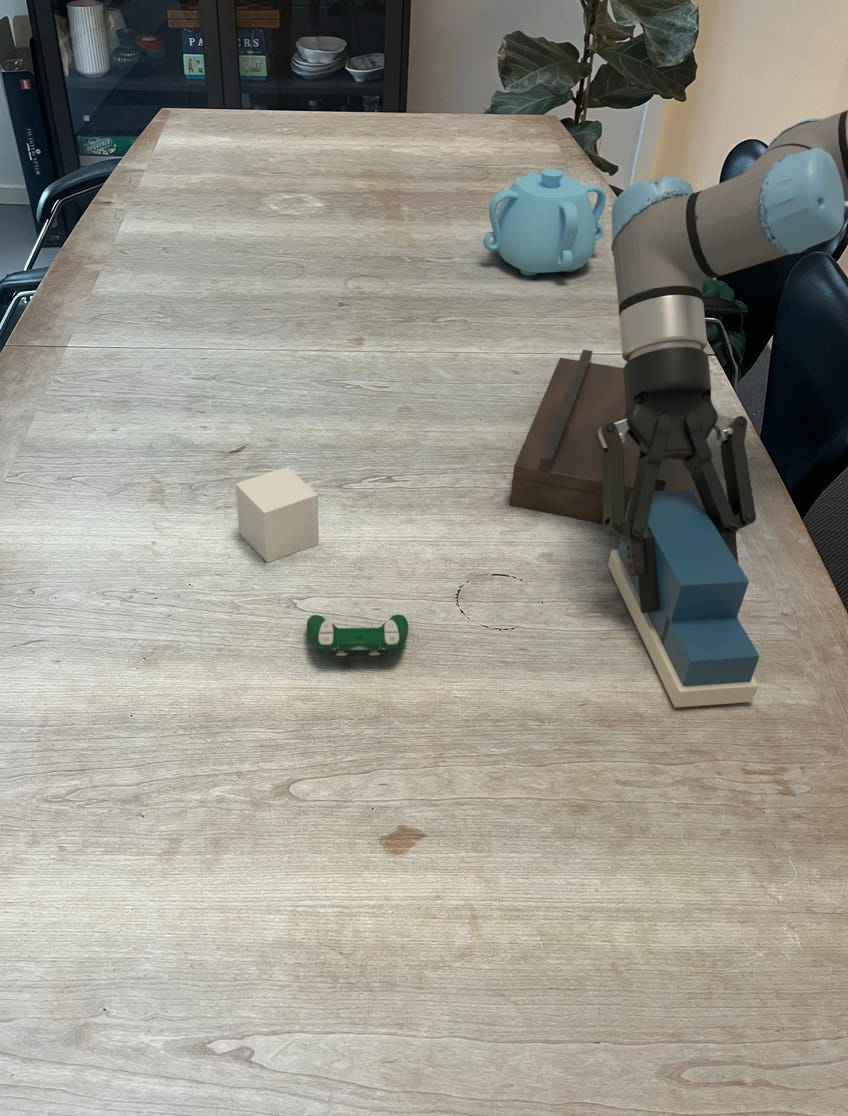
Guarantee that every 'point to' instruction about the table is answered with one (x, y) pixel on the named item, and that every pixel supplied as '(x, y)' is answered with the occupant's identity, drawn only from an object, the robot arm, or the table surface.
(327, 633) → the gaming controller
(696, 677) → the trainer
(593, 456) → the shoe shelf
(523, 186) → the decorative pot
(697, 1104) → the table surface
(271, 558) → the beige cube
